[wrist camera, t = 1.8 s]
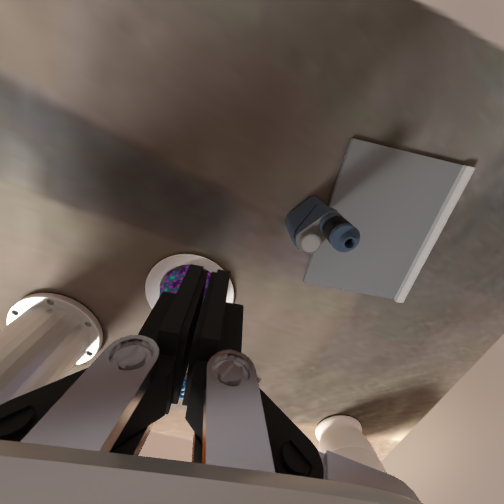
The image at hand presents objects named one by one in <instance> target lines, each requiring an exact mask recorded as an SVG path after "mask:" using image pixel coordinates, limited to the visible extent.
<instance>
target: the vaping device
mask: <svg viewBox="0 0 504 504" xmlns="http://www.w3.org/2000/svg"><path fill="white" fill-rule="evenodd" d="M285 224H286V227H287V229H288V231H289V234H290V236H291V238H292V241H293V243H294V245H295V246H296V247H297V248H298V249H300V250H302V251H303V252H305V253H308V254H312V253H315V252H317V251H318V250H319V249H320V247H321V245H322V244H323V243H325V242H326V241H329V243H330V244H331V245H332V247H333V248H334V249H335V250H337V251H339V252H349V251H351V250H353V249H354V248H355V247H356V246H357V245H358V243H359V241H360V232H359V230H358V229H357V228H356V227H354V226H353V225H352V224H351V223H350V222H348V221H347V220H346V219H345V218H344V217H343V216H342V215H341V214H340V213H339V212H338V211H337V210H335V209H334V208H332V207H329V206H327V205H325V204H324V203H323V202H322V201H321V200H319V199H318V198H317V197H316V196H312V197H310V198H309V199H307V200H306V201H305V202H303V203H302V204H301V205H299V206H298V207H297V208H295V209H294V210H293V211H291V212H290V213H289V214H288V215H287V217H286V220H285Z"/></svg>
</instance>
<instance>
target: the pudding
mask: <svg viewBox="0 0 504 504" xmlns="http://www.w3.org/2000/svg"><path fill="white" fill-rule="evenodd" d="M190 264H193V265H198V266H204V269H206V270H208V271H209V272H210V273H212V272H217V270H218V269H220V270H223V269H222V268H221V267H220V266H219V265H217V264H216V263H214V262H213V261H211V260H209V259H207V258H205V257H202V256H198V255H193V254H178V255H174V256H170V257H168V258H165V259H163V260H162V261H160V262H159V263H157V264H156V265H155V266H154V267H153V268H152V269H151V271H150V273H149V274H148V277H147V279H146V284H145V293H146V297H147V301H148V303H149V305H150V307H151V308H152V309H153V307H154V306H155V304H156V302H157V300H158V299H159V297H160V295H161V294H162V292H163V291H166V292H171V293H177V291H178V289H179V286H180V284H181V282H182V280H183V278H184V276H185V274H186V272H187V270H188V268H189V266H183V267H182V268H181V269H180V270H172V271H170V272H168V271H169V270H171V269H172V268H175V267H177V266H181V265H190ZM167 272H168V273H167ZM209 272H208V275H207V281H206V287H205V293H204V297H205V294H206V290H207V287H208V284H209V280H210V277H211V274H210V273H209ZM166 273H167V275H166V277H165V282H164V283H162V284H161V287H160V283H161V280H162V278H163V276H164V275H165V274H166ZM203 301H204V299H203ZM233 301H234V289H233V285H232V282H231V280H230V278H229V285H228V291H227V297H226V302H228V303H233Z"/></svg>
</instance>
